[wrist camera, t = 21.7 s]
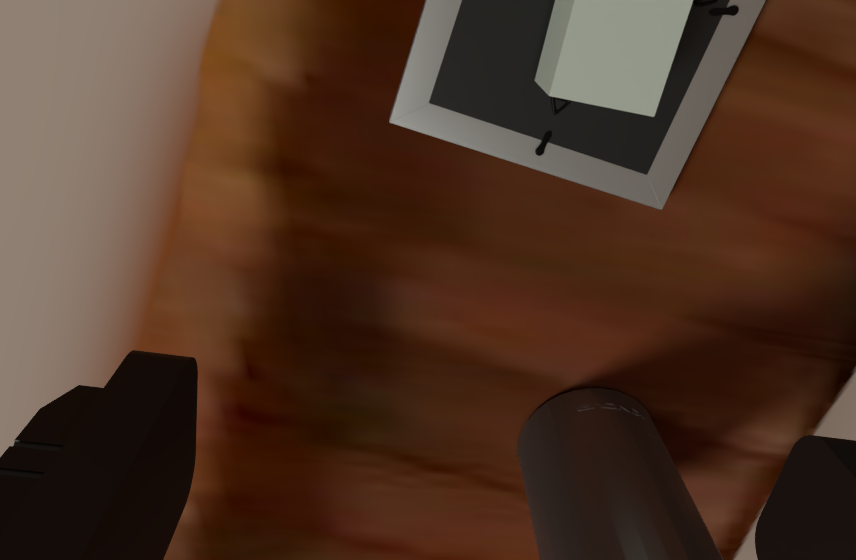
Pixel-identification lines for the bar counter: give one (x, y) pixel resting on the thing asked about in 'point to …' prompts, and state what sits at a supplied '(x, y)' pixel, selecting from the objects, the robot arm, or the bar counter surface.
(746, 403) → the bar counter surface
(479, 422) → the bar counter surface
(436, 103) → the picture frame
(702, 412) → the bar counter surface
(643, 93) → the blank block
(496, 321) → the bar counter surface
